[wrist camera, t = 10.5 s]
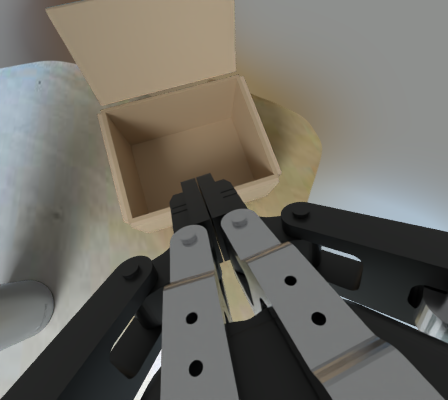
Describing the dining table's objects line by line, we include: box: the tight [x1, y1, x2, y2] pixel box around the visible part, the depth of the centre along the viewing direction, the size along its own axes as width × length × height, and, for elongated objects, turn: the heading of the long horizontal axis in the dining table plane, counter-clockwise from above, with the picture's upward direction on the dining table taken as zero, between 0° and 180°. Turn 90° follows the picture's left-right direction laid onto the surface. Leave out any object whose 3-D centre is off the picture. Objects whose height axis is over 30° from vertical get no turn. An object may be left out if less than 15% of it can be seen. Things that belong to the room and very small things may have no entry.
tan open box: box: [97, 74, 282, 233], centre depth 42 cm, size 19×23×12 cm
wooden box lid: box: [45, 0, 236, 106], centre depth 32 cm, size 12×21×1 cm
